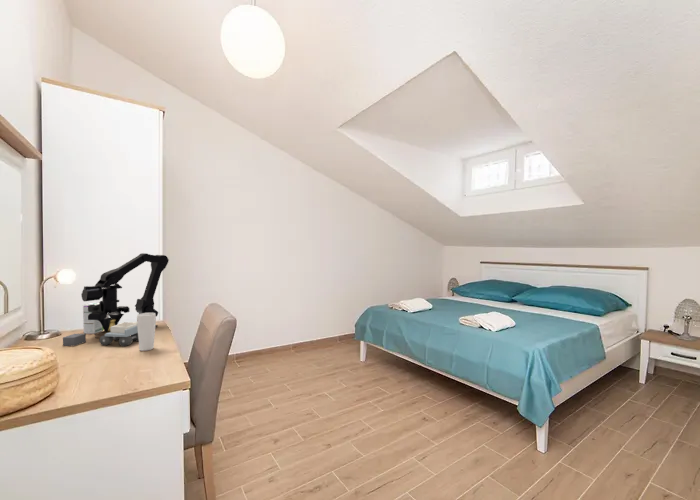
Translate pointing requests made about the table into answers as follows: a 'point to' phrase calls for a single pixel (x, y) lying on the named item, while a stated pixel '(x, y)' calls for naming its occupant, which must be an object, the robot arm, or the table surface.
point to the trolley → (120, 337)
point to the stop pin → (111, 324)
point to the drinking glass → (146, 330)
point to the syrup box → (90, 321)
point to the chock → (74, 339)
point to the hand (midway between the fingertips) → (109, 330)
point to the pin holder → (99, 334)
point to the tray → (122, 327)
